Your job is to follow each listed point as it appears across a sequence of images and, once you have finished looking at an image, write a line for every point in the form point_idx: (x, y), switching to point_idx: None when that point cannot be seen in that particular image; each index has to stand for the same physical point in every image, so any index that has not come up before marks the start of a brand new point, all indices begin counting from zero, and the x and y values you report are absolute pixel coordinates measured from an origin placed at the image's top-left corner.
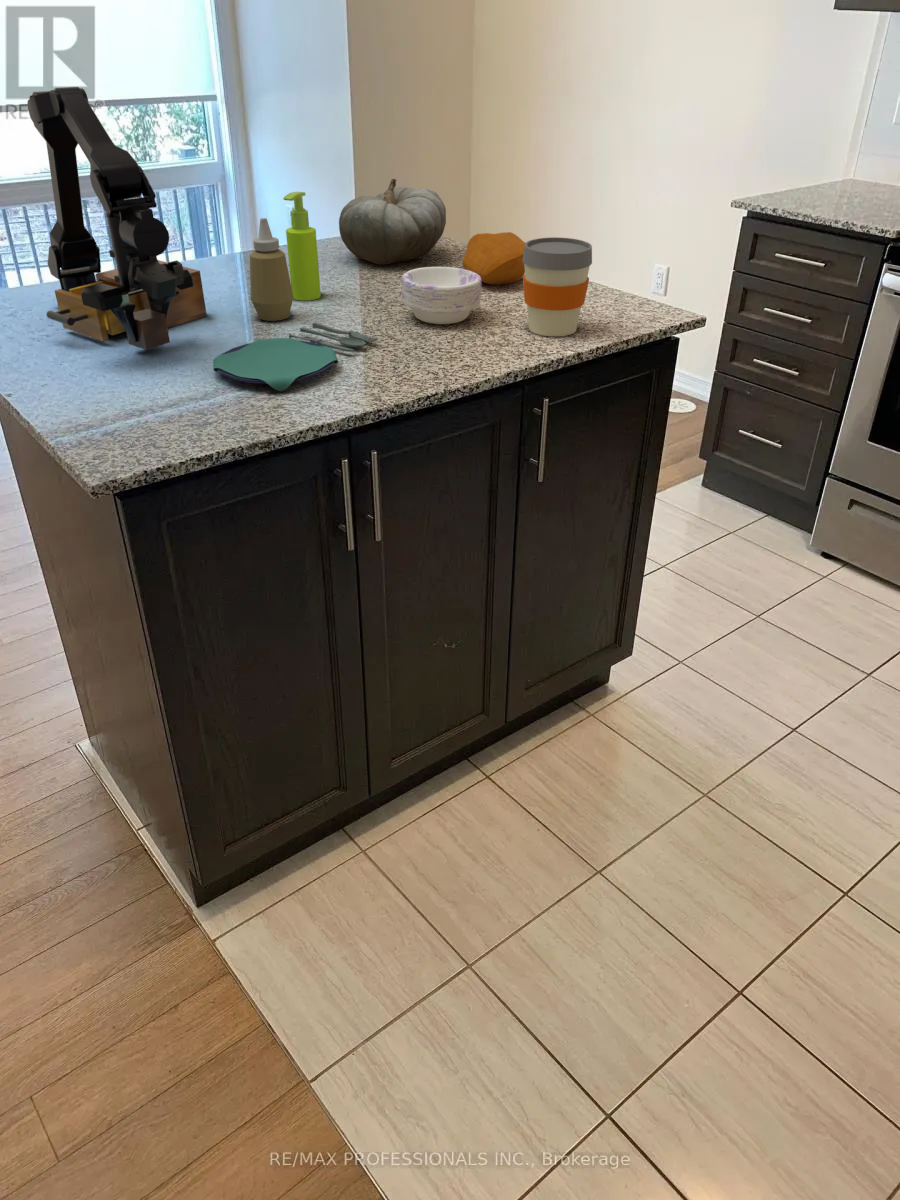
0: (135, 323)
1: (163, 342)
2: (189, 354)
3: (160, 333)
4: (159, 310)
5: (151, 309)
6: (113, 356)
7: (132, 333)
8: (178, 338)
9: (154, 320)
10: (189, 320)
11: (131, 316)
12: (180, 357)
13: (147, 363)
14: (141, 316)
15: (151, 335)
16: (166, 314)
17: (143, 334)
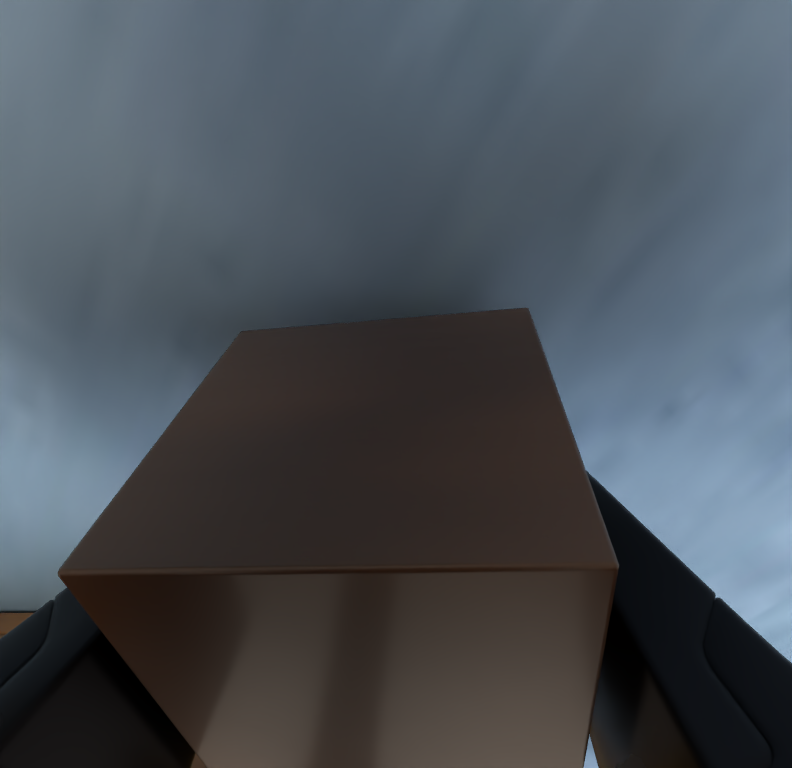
0: (616, 601)
1: (309, 335)
2: (156, 80)
3: (302, 385)
4: (103, 698)
5: (187, 760)
6: (643, 487)
7: (618, 514)
8: (131, 471)
9: (311, 523)
10: (3, 616)
11: (762, 753)
12: (269, 63)
13: (610, 160)
14: (434, 695)
15: (433, 385)
16: (54, 601)
17: (561, 404)
